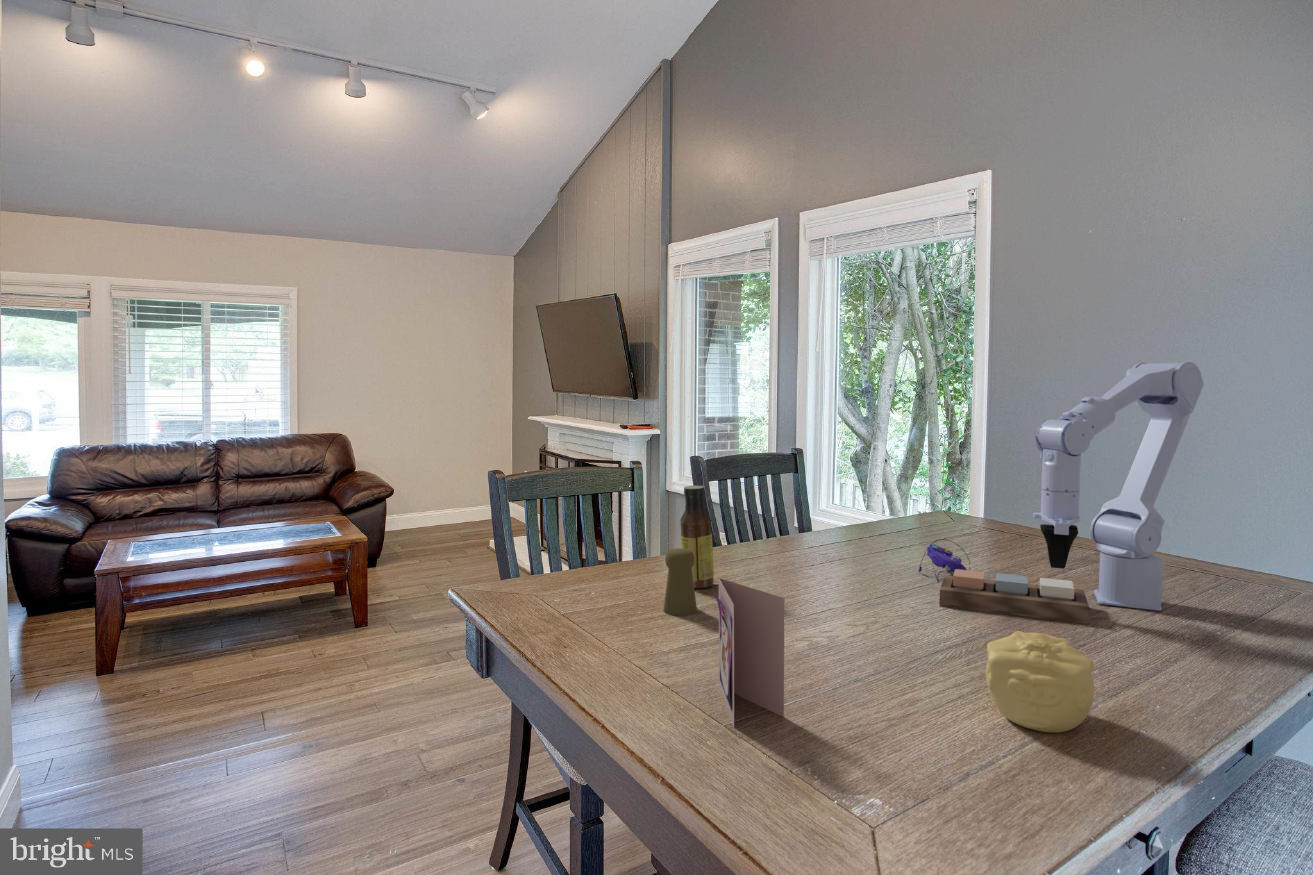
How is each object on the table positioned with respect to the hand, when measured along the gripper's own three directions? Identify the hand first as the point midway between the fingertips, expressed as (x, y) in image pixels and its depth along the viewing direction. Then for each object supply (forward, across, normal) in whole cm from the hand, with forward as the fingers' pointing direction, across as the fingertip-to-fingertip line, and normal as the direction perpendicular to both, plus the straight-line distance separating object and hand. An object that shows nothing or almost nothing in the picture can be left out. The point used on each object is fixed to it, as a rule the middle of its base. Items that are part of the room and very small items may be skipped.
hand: (1057, 567), depth 125 cm
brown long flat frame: (+8, 0, -7) cm, 11 cm away
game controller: (+8, -15, -20) cm, 26 cm away
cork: (+8, +26, -60) cm, 66 cm away
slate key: (+6, 0, -7) cm, 9 cm away
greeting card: (+8, +56, -37) cm, 68 cm away
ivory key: (+6, 0, 0) cm, 6 cm away
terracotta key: (+6, 0, -14) cm, 15 cm away
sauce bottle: (+8, +11, -63) cm, 65 cm away
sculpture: (+8, +45, -4) cm, 46 cm away
